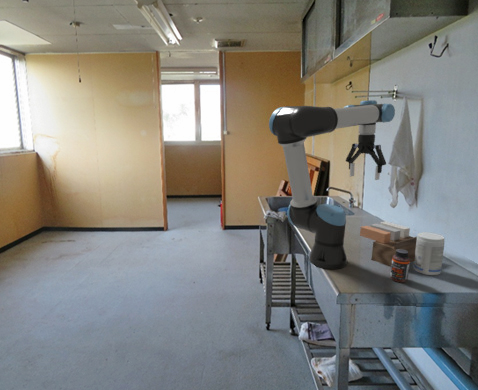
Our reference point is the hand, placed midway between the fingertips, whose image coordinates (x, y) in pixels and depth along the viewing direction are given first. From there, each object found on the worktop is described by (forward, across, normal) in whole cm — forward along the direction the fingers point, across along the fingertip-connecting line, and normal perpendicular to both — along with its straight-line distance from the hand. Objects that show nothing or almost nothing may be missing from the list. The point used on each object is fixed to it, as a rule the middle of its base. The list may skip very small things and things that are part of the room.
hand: (364, 177), depth 169 cm
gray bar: (+22, -19, +12) cm, 31 cm away
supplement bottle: (+30, -36, +33) cm, 57 cm away
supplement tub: (+31, -39, +16) cm, 52 cm away
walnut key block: (+30, -26, +13) cm, 42 cm away
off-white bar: (+23, -19, +5) cm, 30 cm away
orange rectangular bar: (+22, -18, +19) cm, 34 cm away
